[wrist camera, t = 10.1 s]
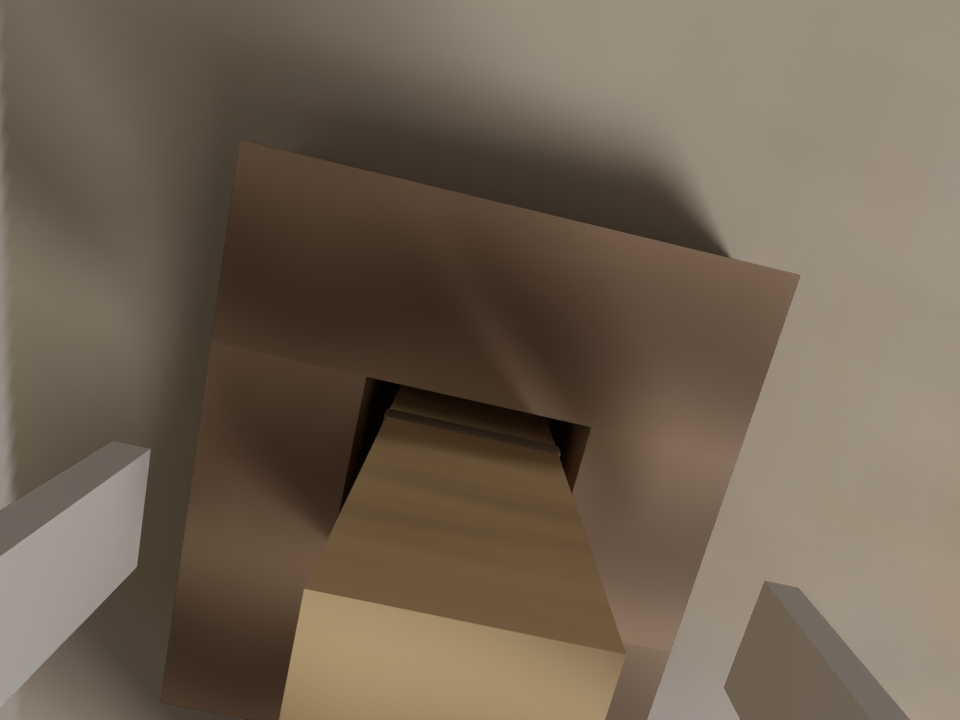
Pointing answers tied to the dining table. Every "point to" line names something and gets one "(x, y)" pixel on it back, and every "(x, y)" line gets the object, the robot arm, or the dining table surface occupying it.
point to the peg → (455, 580)
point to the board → (456, 372)
